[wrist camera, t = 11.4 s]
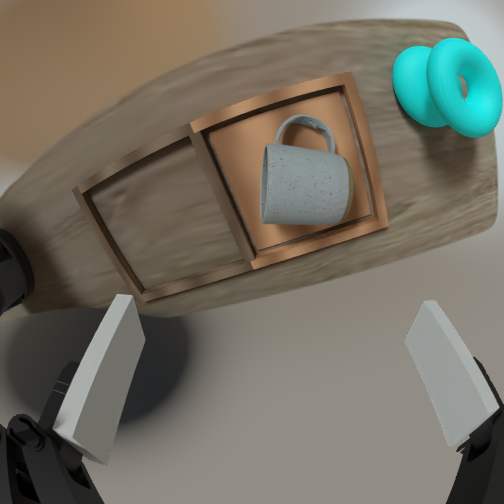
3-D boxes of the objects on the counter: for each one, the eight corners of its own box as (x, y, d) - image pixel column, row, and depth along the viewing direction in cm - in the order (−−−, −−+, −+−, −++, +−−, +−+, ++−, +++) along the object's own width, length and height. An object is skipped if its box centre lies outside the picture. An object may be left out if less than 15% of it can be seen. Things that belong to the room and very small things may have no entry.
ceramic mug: (330, 211, 31) (350, 241, 24) (258, 207, 31) (260, 236, 24) (340, 120, 26) (368, 123, 19) (263, 111, 26) (266, 110, 19)
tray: (142, 298, 38) (139, 303, 37) (76, 186, 29) (71, 189, 28) (384, 222, 31) (388, 226, 30) (347, 72, 23) (351, 71, 22)
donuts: (426, 29, 12) (496, 45, 11) (378, 46, 21) (444, 51, 20) (448, 142, 17) (511, 139, 16) (396, 128, 26) (457, 124, 24)
